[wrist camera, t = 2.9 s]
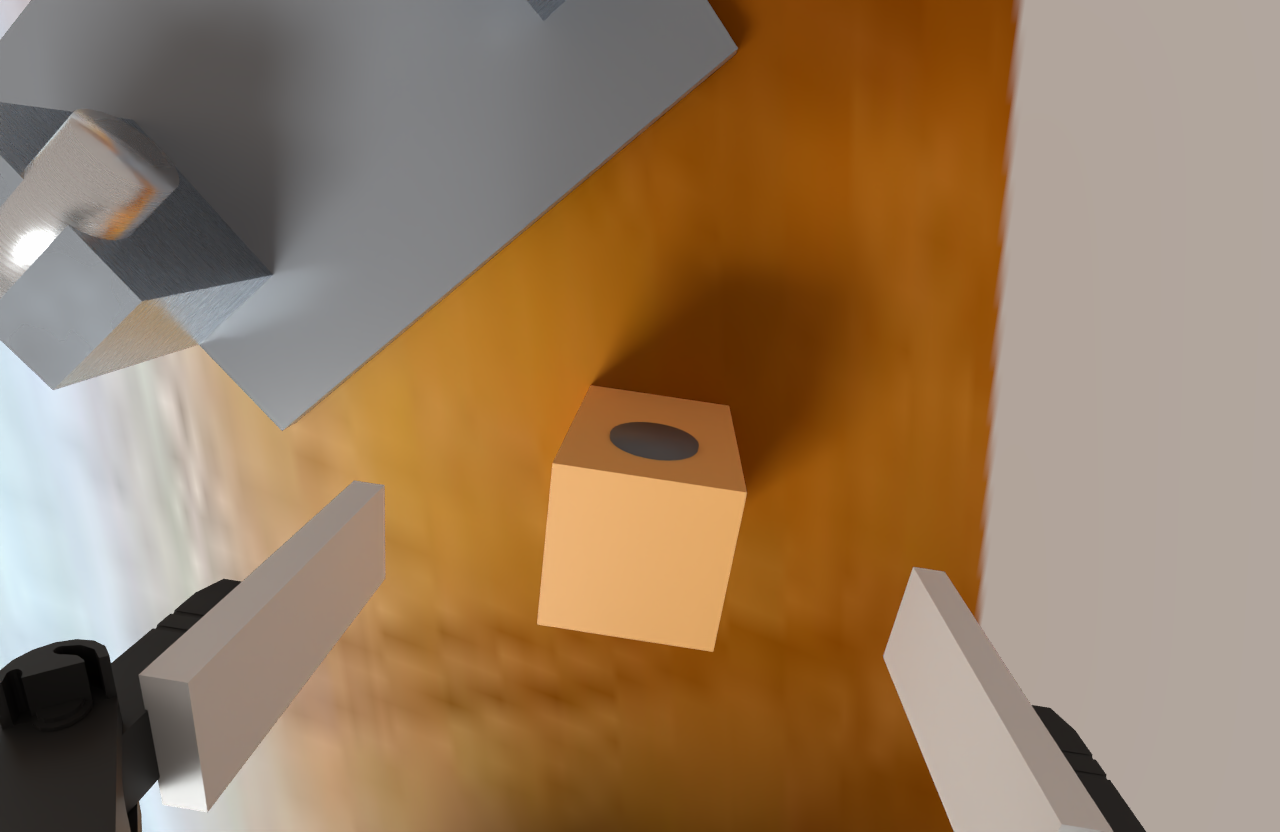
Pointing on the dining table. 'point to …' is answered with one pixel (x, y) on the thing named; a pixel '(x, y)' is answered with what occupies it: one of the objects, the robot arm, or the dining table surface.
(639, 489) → the coupler
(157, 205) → the shaft stands
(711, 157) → the dining table surface
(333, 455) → the dining table surface
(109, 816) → the robot arm
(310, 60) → the board
